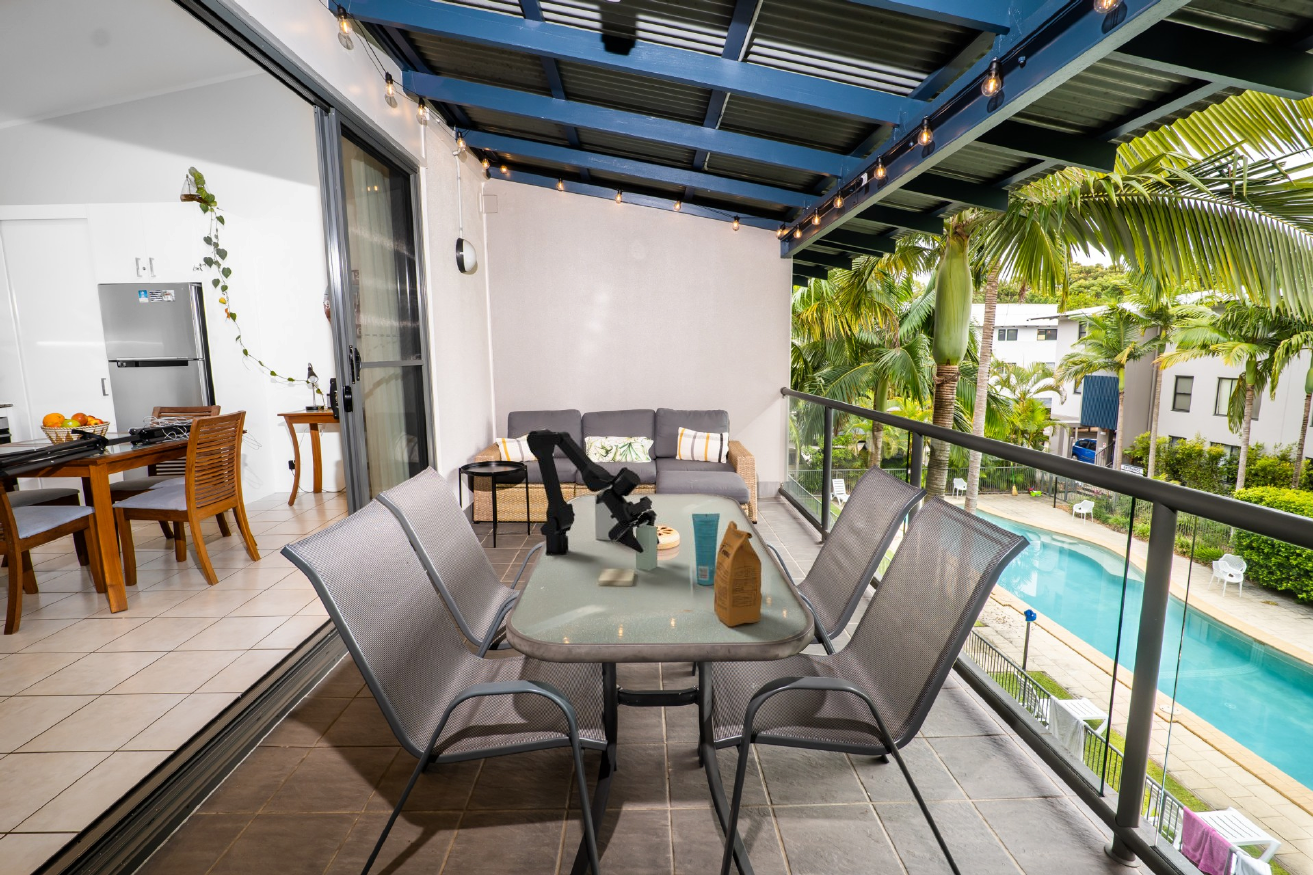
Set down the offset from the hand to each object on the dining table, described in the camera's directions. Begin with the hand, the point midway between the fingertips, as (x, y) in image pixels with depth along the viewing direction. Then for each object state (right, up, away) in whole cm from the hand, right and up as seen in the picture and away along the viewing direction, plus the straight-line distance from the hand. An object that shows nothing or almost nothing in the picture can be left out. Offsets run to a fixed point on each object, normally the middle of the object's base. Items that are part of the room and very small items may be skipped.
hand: (650, 547), depth 174 cm
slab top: (-9, -7, -8) cm, 14 cm away
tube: (+15, -8, -9) cm, 19 cm away
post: (-1, -7, +2) cm, 7 cm away
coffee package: (+20, -11, -31) cm, 39 cm away
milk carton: (-15, -3, +34) cm, 37 cm away
